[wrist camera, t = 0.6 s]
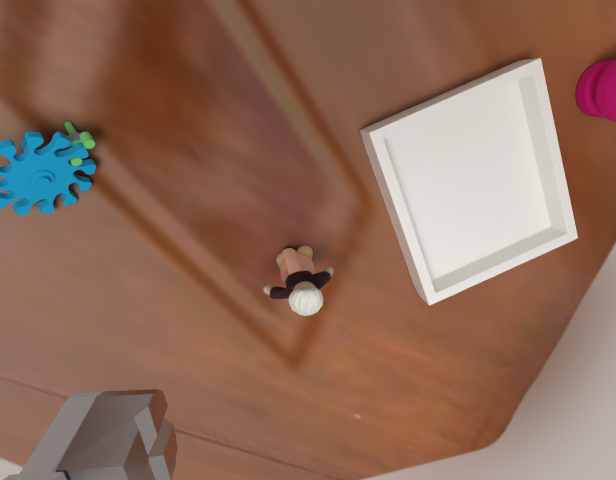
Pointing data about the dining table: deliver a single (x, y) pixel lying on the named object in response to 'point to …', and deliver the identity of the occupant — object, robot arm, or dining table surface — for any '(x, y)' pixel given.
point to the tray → (473, 180)
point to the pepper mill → (598, 90)
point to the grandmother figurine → (300, 281)
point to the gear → (45, 169)
